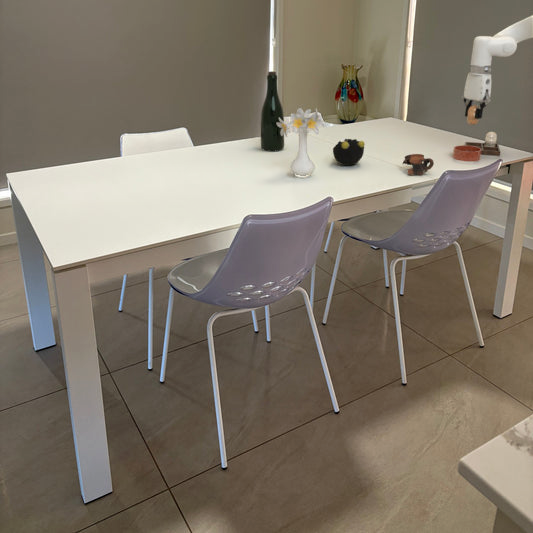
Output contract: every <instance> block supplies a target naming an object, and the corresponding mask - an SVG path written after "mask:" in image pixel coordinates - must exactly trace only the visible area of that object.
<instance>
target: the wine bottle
mask: <svg viewBox="0 0 533 533" xmlns="http://www.w3.org/2000/svg"><path fill="white" fill-rule="evenodd" d="M278 90H279V89H278V75H277V71H272V70H271V71H268V72H267V75H266V93H265V98H264V101H263V104H262V107H261V112H260V149H261V150H262V151H264V152H265V151H266V152H280V151H282V150H284V149H285V133H284V134H283V136H281V133H280V131H281V129H282V128H280V127H278V126H277V124H276V123H277V122H279V123H281V122H280V121H279V117H280V118H281V120H282V121H283V122H284V123H285V116H284V114H285V113H284V108H283V105H282V102H281V100H280V99H281V98H280V96H279V91H278ZM263 149H264V150H263ZM268 150H270V151H268ZM275 150H276V151H275Z"/></svg>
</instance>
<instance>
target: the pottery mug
mask: <svg viewBox="0 0 533 533" xmlns="http://www.w3.org/2000/svg"><path fill="white" fill-rule="evenodd" d="M434 164H435V163H434V160H433V159H432V158H429V157H428V158H426V157H425V155H424V154H421V153H411V154H407V155H405V156H404V160H403V162H402V165H407V166H412V167H411V168H408V169H407V175H408V176H413V175H418V176H424V173H427V172H428V171H429V170H431V169H432V168H433V167H434Z"/></svg>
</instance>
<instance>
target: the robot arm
mask: <svg viewBox="0 0 533 533" xmlns="http://www.w3.org/2000/svg"><path fill="white" fill-rule="evenodd" d="M529 39H533V14H532V15H530V16H528V17H526V18H525V17H524V18H523V19H522V20H519V21H517V22H515V23H513V24H511V25H509V26H507V27H506V28H504V29H502V30H501V31H499V32H497V33H496V34H494V35H493V36H490V35H479V36H476V37H475V38H474V40H473V42H472V44H473V45H472V51H471V57H470V67H469V72H468V73H467V77H466V80H465V84H464V90H463V93H462V94H461V95H460V96H461V97H460V98H461V99H462V101H463V102H464V106H465V110H464V111H465V112H464V117H465V118H467V115H468V109H469V108H470V107H471V106H472V105H473V103H474V101H477V102H476V103H477V104H476V105H477V106H478V109H476V114H475V119H479V120H481V119H482V118H483V112H484V109H485V108H486V107H487V105H489V104H490V103H491V102H492V100H491V94H492V74H491V72H492V68H491V67H492V60H493V57H500V58H507V57H510V56H512V55H514V53H515V52H516V51H517V48H518V45H517V44H519V43H521V42H523V41H526V40H529Z"/></svg>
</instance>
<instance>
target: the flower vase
mask: <svg viewBox="0 0 533 533" xmlns="http://www.w3.org/2000/svg"><path fill="white" fill-rule="evenodd" d="M311 112H312V109H310V108H309V109H306V110H305V111H304V110H303V108H301V107H299V108H297V111H296V113H292V112H291V113H290V119H291V121H289V122H288V123H286V122H285V121H284V122H283V121H282V120H281V118H280V117H279V121H280V122H281V123H279V122H277V123H276V124H277V126H278V127H280V128H282V129H281V131H280V133H281V136H283V134H284V137H285V138H288V129H290V128H293V132H294V134H298V147H297V148H298V150H297V154H296V157H295V159H293V161H291V163H290V166H289V170H290V171H291V173H292V174H293V176H294V177H295V178H297V179H307V178H310V177H311V174H313V173H314V171H315V170H316V168H315V167H316V166H315V163H314V161H313V160H311V158H310V156H309V153H308V134H309V133H310V132H311V131H313V133H314V134H316V135H318V134H319V133H320V131H319V128H318V126H322V127H324V128H325V127H326V125H325V124H324V123H323V120H322V119H323V118H322V116H321V114H319V112H318V108H316V107H315V112H313V113H312V114H311ZM310 114H311V115H310ZM294 174H296V175H300V176H306V175H309V174H310V176H308V177H297V176H295V175H294Z"/></svg>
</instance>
